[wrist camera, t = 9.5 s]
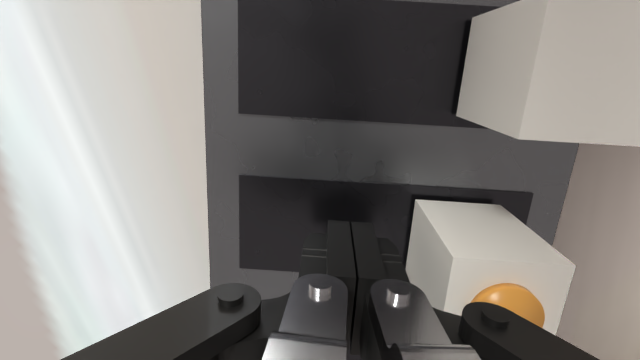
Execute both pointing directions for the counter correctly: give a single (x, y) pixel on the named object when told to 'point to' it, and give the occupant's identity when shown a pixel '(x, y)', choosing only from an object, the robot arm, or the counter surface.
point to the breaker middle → (486, 262)
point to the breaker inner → (556, 71)
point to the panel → (350, 130)
